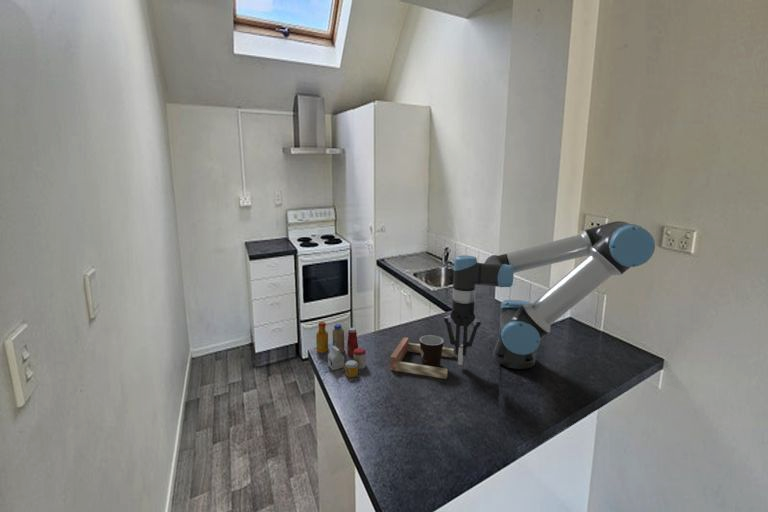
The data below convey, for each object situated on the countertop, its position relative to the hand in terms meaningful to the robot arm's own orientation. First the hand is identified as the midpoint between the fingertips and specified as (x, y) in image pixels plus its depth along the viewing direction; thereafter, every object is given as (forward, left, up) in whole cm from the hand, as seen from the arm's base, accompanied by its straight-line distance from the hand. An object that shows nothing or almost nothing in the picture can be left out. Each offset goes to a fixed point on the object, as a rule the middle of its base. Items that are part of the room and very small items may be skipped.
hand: (460, 363), depth 133 cm
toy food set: (+43, +7, -2) cm, 43 cm away
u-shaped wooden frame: (+12, 0, -2) cm, 13 cm away
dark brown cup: (+10, 0, -2) cm, 11 cm away
